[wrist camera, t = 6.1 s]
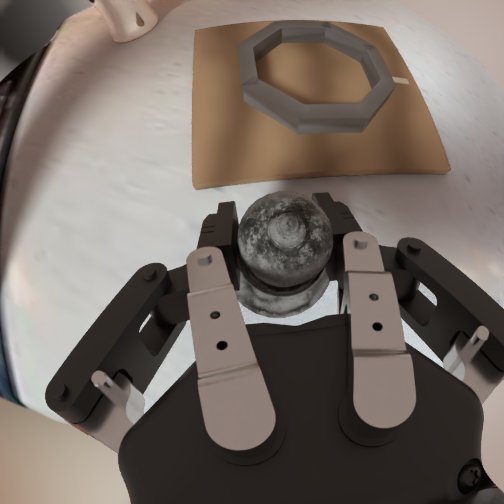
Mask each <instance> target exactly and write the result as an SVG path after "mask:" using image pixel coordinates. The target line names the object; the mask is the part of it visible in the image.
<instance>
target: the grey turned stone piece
mask: <svg viewBox="0 0 504 504" xmlns="http://www.w3.org/2000/svg"><path fill="white" fill-rule="evenodd" d="M332 247H333V231H332V227H331V224H330V221H329V219H328V217H327V216H326V214H325V212H324V211H323V209H322V208H321V207H319V206H318V205H317V204H316V203H315V202H314V201H313V200H311V199H309V198H307V197H306V196H304V195H301V194H297V193H294V192H276V193H271V194H268V195H266V196H264V197H262V198H260V199H258V200H257V201H255V202H254V203H253V204H252V205H251V206H250V207H249V208H248V210H247V211H246V213H245V214H244V216H243V217H242V219H241V222H240V224H239V229H238V239H237V242H236V256H237V264H238V268H239V269H240V290H239V291H235V294H236V297H237V300H238V301H239V302H240V303H241V304H242V305H243V306H244V307H246V308H248V309H249V310H251V311H253V312H254V313H256V314H259V315H263V316H266V317H270V318H285V317H289V316H293V315H297V314H300V313H302V312H303V311H305V310H307V309H308V308H310V307H312V306H313V305H314V304H315V303H316V302H317V301H318V300H319V299H320V298H321V297H322V295H323V294H324V292H325V290H326V288H327V287H328V285H329V282H330V281H329V278H328V275H327V272H326V269H325V265H326V263H327V262H328V260H329V258H330V256H331V251H332Z"/></svg>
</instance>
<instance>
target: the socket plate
mask: <svg viewBox="0 0 504 504" xmlns="http://www.w3.org/2000/svg"><path fill="white" fill-rule="evenodd" d="M450 170H451V169H450V165H449V162H448V159H447V156H446V153H445V150H444V147H443V145H442V142H441V139H440V136H439V134H438V131H437V129H436V126H435V124H434V121H433V119H432V116H431V114H430V112H429V110H428V107H427V105H426V103H425V101H424V99H423V96H422V94H421V92H420V90H419V88H418V86H417V84H416V82H415V80H414V78H413V76H412V74H411V73H410V71H409V69H408V67H407V65H406V64H405V62H404V60H403V58H402V57H401V55H400V53H399V51H398V50H397V48H396V47H395V45H394V43H393V42H392V40H391V39H390V37H389V35H388V34H387V32H386V31H385V29H384V28H383V27H378V26H371V25H364V24H356V23H346V22H334V21H316V20H280V21H261V22H249V23H239V24H231V25H223V26H217V27H211V28H205V29H199V30H195V42H194V61H193V88H192V183H193V186H194V188H195V189H196V190H200V189H207V188H214V187H222V186H230V185H238V184H246V183H256V182H265V181H275V180H286V179H298V178H312V177H327V176H345V175H370V174H446V173H447V172H449V171H450Z"/></svg>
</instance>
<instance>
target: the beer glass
mask: <svg viewBox="0 0 504 504" xmlns="http://www.w3.org/2000/svg"><path fill="white" fill-rule="evenodd" d="M88 1H89V2H90V3H91V4H92V5H93V6H94V7H95V8H96V9H97V10H98V11H99V12H100V13H101V14H102V16H103V17H104V18H105V20H106V22H107V23H108V26H109V29H110V32H111V35H112V38H113V40H114V41H115V42H119V43H123V42H128V41H131V40H134V39H136V38H139V37H141V36H143V35H144V34H146V33H147V32H149V31H150V30H151V29H152V28H154V26H155V25H156V24H157V22H158V16H157V14H156V13H155V11H154V10H153V9H152V7H151V6H150V4H149V3H148V0H88Z"/></svg>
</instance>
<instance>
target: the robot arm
mask: <svg viewBox="0 0 504 504" xmlns="http://www.w3.org/2000/svg"><path fill="white" fill-rule="evenodd" d="M312 200H313V201H314V202H315V203H316V204H317V205H318V206H319V207H321V208H322V209H323V211H324V212H325V214H326V216H327V217H328V219H329V221H330V224H331V227H332V231H333V247H332V251H331V256H330V258H329V260H328V262H327V263H326V265H325V269H326V272H327V275H328V278H329V281H334V280H337V281H338V290H337V314H336V315H328V316H324V317H322V318H319V319H316V320H313V321H310V322H308V323H305V324H302V325H298V326H290V325H280V324H270V323H258V324H246V325H245V323H244V320H243V316H242V313H241V310H240V307H239V304H238V300H237V297H236V294H235V291H239V290H240V269H239V268H238V264H237V256H236V242H237V239H238V229H239V223H238V217H237V211H236V205H235V201H231V202H223V203H219V205H218V211H217V214H209V215H208V216H207V217H206V218H205V219H204V220H203V224H202V228H201V234H200V237H199V241H198V246H197V249H196V250H194V251H193V252H192V253H190V254H189V256H188V257H187V260H186V262H187V264H185V265H184V266H181V267H179V268H176V269H173V270H169V271H167V268H166V266H165V265H163V264H161V263H151V264H148V265H145V266H143V267H142V268H140V269H139V270H138V271H137V272H136V273H135V274H134V275H133V276H132V277H131V279H130V280H129V281H128V282H127V283H126V284H125V286H124V287H123V288H122V289H121V290H120V291H119V293H118V294H117V295H116V296H115V297H114V299H113V300H112V301H111V302H110V303H109V305H108V306H107V307H106V308H105V310H104V311H103V312H102V313H101V314H100V316H99V317H98V318H97V319H96V321H95V322H94V323H93V325H92V326H91V327H90V328H89V330H88V331H87V332H86V333H85V335H84V336H83V337H82V339H81V340H80V341H79V343H78V344H77V345H76V347H75V348H74V349H73V351H72V352H71V353H70V355H69V356H68V357H67V359H66V360H65V361H64V363H63V364H62V366H61V367H60V368H59V370H58V371H57V372H56V374H55V375H54V377H53V378H52V380H51V381H50V382H49V384H48V386H47V388H46V392H45V400H46V403H47V405H48V407H49V408H50V409H51V410H53V411H54V412H55V413H57V414H58V415H59V416H61V417H62V418H64V420H65V421H66V422H68V423H69V424H71V425H72V426H74V427H75V428H77V429H78V430H80V431H82V432H84V433H85V434H87V435H90V436H92V437H93V438H95V439H97V440H98V441H100V442H102V443H103V444H104V445H106V446H107V447H109V448H110V449H112V450H113V451H115V452H117V453H118V464H119V468H120V472H121V475H122V477H123V479H124V482H125V484H126V487H127V490H128V493H129V497H130V501H131V504H504V493H503V492H502V491H501V490H500V489H499V488H498V487H497V486H496V485H495V484H494V483H493V481H492V480H491V479H490V478H489V476H488V475H487V473H486V472H485V470H484V468H483V465H482V461H481V437H482V430H483V421H484V415H483V408H482V404H483V403H484V401H485V400H486V399H487V398H488V396H489V395H490V394H491V393H492V391H493V390H494V389H495V388H496V386H497V385H498V384H500V382H501V381H502V380H504V309H503V308H502V307H501V306H500V305H499V304H498V303H497V302H496V301H495V300H493V299H492V298H491V297H490V296H489V295H488V294H487V293H486V292H485V291H484V290H482V289H481V288H480V287H479V286H478V285H477V284H476V283H474V282H473V281H472V280H471V279H470V278H468V277H467V276H466V275H465V274H464V273H463V272H461V271H460V270H459V269H458V268H456V267H455V266H454V265H453V264H451V263H450V262H449V261H448V260H446V259H445V258H444V257H443V256H441V255H440V254H439V253H437V252H436V251H435V250H434V249H432V248H431V247H430V246H428V245H427V244H426V243H424V242H423V241H421V240H419V239H416V238H410V237H408V238H403V239H401V240H400V241H399V242H398V245H397V248H395V247H387V246H381V245H378V242H377V240H376V238H375V237H374V236H372V235H370V234H368V233H365V232H363V231H362V229H361V228H360V226H359V224H358V223H357V221H356V220H355V218H354V216H353V215H352V214H351V212H350V210H349V208H348V207H347V206H346V205H344V204H343V203H341V202H334V201H333V199H332V198H331V196H330V194H329V193H328V192H326V193H313V194H312ZM420 282H421V283H422V284H424V285H425V286H426V287H427V288H428V289H429V290H430V291H431V292H432V293H433V294H434V295H435V296H436V299H437V306H435V305H434V304H433V303H432V302H431V301H430V300H429V299H428V298H427V297H425V296H424V295H423V294H422V293H421V292H420V291H419V290H418V288H419V285H420ZM149 314H151V317H150V319H149V320H148V322H147V323H146V324H145V326H144V327H143V329H142V330H141V331H140V333H139V330H140V327H141V325H142V323H143V322H144V321H145V319H146V318H147V316H148V315H149ZM401 318H402V319H403V320H404V321H405V322H406V323H407V324H408V325H409V326H410V327H411V328H412V329H413V330H414V332H415V333H416V334H417V335H418V336H419V337H420V338H421V339H422V340H423V341H424V342H425V343H426V344H427V345H428V347H429V348H430V349H431V350H432V351H433V352H434V353H435V354H436V355H437V356H438V358H439V359H440V360H441V361H442V362H443V367H444V368H442V367H441V366H439V365H438V364H437V363H435V362H434V361H432V360H431V359H429V358H428V357H426V356H425V355H424V354H422V353H421V352H419V351H418V350H416V349H415V348H413V347H412V346H410V345H409V344H408V343H406V342H405V340H404V333H403V327H402V321H401ZM187 320H190V323H191V330H192V337H193V344H194V351H195V357H196V361H195V362H194V363H193V364H192V365H191V366H190V367H189V368H188V369H187V370H186V371H185V372H184V373H183V375H182V376H181V377H180V378H179V379H178V380H177V381H176V382H175V383H174V384H173V385H172V386H171V387H170V388H169V389H168V390H167V391H166V392H165V393H164V394H163V395H162V396H161V397H160V398H159V400H158V401H157V402H156V403H155V404H154V405H153V406H152V407H151V408H150V409H149V410H148V411H147V412H146V413H145V414H144V407H145V400H144V397H143V394H144V392H145V390H146V389H147V387H148V385H149V384H150V382H151V380H152V379H153V377H154V375H155V374H156V372H157V370H158V369H159V367H160V365H161V364H162V362H163V360H164V359H165V357H166V356H167V354H168V352H169V351H170V349H171V347H172V346H173V344H174V342H175V341H176V339H177V338H178V336H179V334H180V333H181V331H182V330H183V328H184V326H185V324H186V321H187Z"/></svg>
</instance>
